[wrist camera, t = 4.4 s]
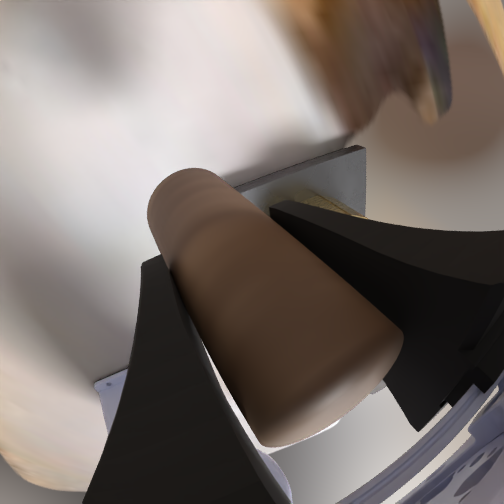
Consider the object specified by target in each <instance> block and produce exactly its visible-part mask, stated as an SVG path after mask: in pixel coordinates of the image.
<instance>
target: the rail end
mask: <svg viewBox="0 0 504 504" xmlns="http://www.w3.org/2000/svg"><path fill="white" fill-rule="evenodd" d="M147 219H148V224H149V227H150V230H151V232H152V235H153V237H154V239H155V242H156V244H157V246H158V249H159V251H160V253H161V254H162V256H163V258H164V260H165V263H166V265H167V267H168V269H169V271H170V274H171V276H172V278H173V280H174V282H175V284H176V287H177V289H178V291H179V293H180V296H181V298H182V301H183V303H184V305H185V308H186V310H187V312H188V314H189V316H190V318H191V320H192V322H193V324H194V326H195V328H196V330H197V332H198V334H199V336H200V338H201V340H202V342H203V344H204V346H205V348H206V349H207V351H208V353H209V355H210V357H211V359H212V361H213V363H214V365H215V366H216V368H217V370H218V372H219V374H220V376H221V378H222V379H223V381H224V383H225V385H226V387H227V388H228V390H229V392H230V394H231V395H232V397H233V399H234V401H235V402H236V404H237V406H238V408H239V409H240V411H241V413H242V414H243V416H244V418H245V419H246V421H247V423H248V424H249V426H250V428H251V429H252V431H253V433H254V434H255V436H256V438H257V439H258V441H259V442H260V444H261V445H263V446H265V447H282V446H286V445H290V444H293V443H296V442H298V441H301V440H303V439H306V438H308V437H310V436H312V435H314V434H316V433H318V432H320V431H321V430H323V429H325V428H326V427H328V426H330V425H331V424H333V423H334V422H336V421H337V420H339V419H340V418H341V417H343V416H344V415H345V414H347V413H348V412H349V411H351V410H352V409H353V408H354V407H355V406H357V405H358V404H359V403H360V402H361V401H362V400H363V399H364V398H365V397H366V396H367V395H368V394H370V392H371V391H372V390H373V389H374V388H375V387H376V386H377V385H378V384H379V383H380V382H381V380H382V379H383V378H384V377H385V375H386V374H387V373H388V371H389V370H390V369H391V367H392V366H393V364H394V362H395V361H396V359H397V357H398V355H399V353H400V351H401V348H402V345H403V340H404V335H403V332H402V331H401V330H400V329H399V328H398V327H397V326H396V325H395V324H394V323H393V322H392V321H390V320H389V319H388V318H387V317H386V316H385V315H384V314H383V313H381V312H380V311H379V310H378V309H377V308H376V307H375V306H374V305H372V304H371V303H370V302H369V301H368V300H367V299H366V298H365V297H363V296H362V295H361V294H360V293H359V292H358V291H357V290H355V289H354V288H353V287H352V286H351V285H350V284H349V283H347V282H346V281H345V280H344V279H343V278H342V277H340V276H339V275H338V274H337V273H336V272H335V271H333V270H332V269H331V268H330V267H329V266H328V265H326V264H325V263H324V262H323V261H322V260H321V259H319V258H318V257H317V256H316V255H315V254H313V253H312V252H311V251H310V250H309V249H307V248H306V247H305V246H304V245H303V244H301V243H300V242H299V241H298V240H297V239H295V238H294V237H293V236H292V235H291V234H289V233H288V232H287V231H286V230H285V229H283V228H282V227H281V226H280V225H279V224H277V223H276V222H275V221H274V220H272V219H271V218H270V217H269V216H267V215H266V214H265V213H264V212H263V211H261V210H260V209H259V208H258V207H256V206H255V205H254V204H253V203H251V202H250V201H249V200H248V199H246V198H245V197H244V196H243V195H241V194H240V193H239V192H238V191H236V190H235V189H234V188H233V187H231V186H230V185H229V184H228V183H226V182H225V181H224V180H222V179H221V178H220V177H219V176H217V175H216V174H214V173H213V172H211V171H208V170H205V169H201V168H188V169H183V170H180V171H177V172H175V173H173V174H171V175H170V176H168V177H167V178H165V179H164V180H163V181H162V182H161V183H160V184H159V185H158V186H157V188H156V189H155V190H154V192H153V194H152V196H151V198H150V200H149V204H148V209H147Z"/></svg>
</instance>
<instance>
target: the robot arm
mask: <svg viewBox="0 0 504 504" xmlns="http://www.w3.org/2000/svg"><path fill="white" fill-rule="evenodd" d="M269 212H270V218H271V219H272V220H274V221H275V222H276V223H277V224H279V225H280V226H281V227H282V228H283V229H285V230H286V231H287V232H288V233H289V234H291V235H292V236H293V237H294V238H295V239H297V240H298V241H299V242H300V243H301V244H303V245H304V246H305V247H306V248H307V249H309V250H310V251H311V252H312V253H313V254H315V255H316V256H317V257H318V258H319V259H321V260H322V261H323V262H324V263H325V264H326V265H328V266H329V267H330V268H331V269H332V270H333V271H335V272H336V273H337V274H338V275H339V276H340V277H342V278H343V279H344V280H345V281H346V282H347V283H349V284H350V285H351V286H352V287H353V288H354V289H355V290H357V291H358V292H359V293H360V294H361V295H362V296H363V297H365V298H366V299H367V300H368V301H369V302H370V303H371V304H372V305H374V306H375V307H376V308H377V309H378V310H379V311H380V312H381V313H383V314H384V315H385V316H386V317H387V318H388V319H389V320H390V321H392V322H393V323H394V324H395V325H396V326H397V327H398V328H399V329H400V330H401V331H402V332H403V335H404V340H403V345H402V348H401V351H400V353H399V355H398V357H397V359H396V361H395V362H394V364H393V366H392V367H391V369H390V370H389V371H388V373H387V374H386V375H385V377H384V378H383V379H382V380H383V381H384V383H385V384H386V385H387V387H388V388H389V390H390V391H391V393H392V394H393V396H394V398H395V399H396V401H397V403H398V404H399V406H400V407H401V409H402V411H403V412H404V414H405V416H406V418H407V419H408V421H409V423H410V424H411V425H412V426H413V428H414V429H415V430H416V431H417V432H419V431H420V430H421V429H422V428H424V427H425V426H426V425H427V424H428V423H429V422H430V421H431V420H432V419H433V418H434V417H435V416H436V415H437V414H438V413H439V412H440V411H441V410H442V409H443V408H444V407H445V406H446V405H447V404H448V403H449V404H450V405H451V406H452V408H451V410H450V411H449V412H448V413H447V414H446V415H445V416H444V417H443V418H442V419H441V420H440V421H439V422H438V423H437V424H436V425H435V426H434V427H433V428H432V429H431V430H430V431H429V432H428V433H427V434H426V435H425V436H424V437H422V439H420V440H419V441H418V442H417V443H416V444H415V445H414V446H412V447H411V448H410V449H409V450H408V451H407V452H406V453H404V454H403V455H402V456H401V457H400V458H398V459H397V460H396V461H395V462H394V463H392V464H391V465H390V466H389V467H387V468H386V469H385V470H383V471H382V472H381V473H379V474H378V475H377V476H376V477H374V478H373V479H371V480H370V481H369V482H367V483H366V484H364V485H363V486H362V487H360V488H359V489H357V490H356V491H354V492H353V493H351V494H350V495H348V496H347V497H345V498H344V499H342V500H341V501H339V502H337V503H336V504H380V503H382V502H383V501H384V500H385V499H387V498H388V497H389V496H391V495H392V494H393V493H395V492H396V491H397V490H398V489H400V488H401V487H402V486H403V485H405V484H406V483H407V482H408V481H409V480H410V479H412V478H413V477H414V476H415V475H416V474H417V473H419V472H420V471H421V470H422V469H423V468H424V467H425V466H426V465H427V464H428V463H429V462H430V461H432V460H433V459H434V458H435V457H436V456H437V455H438V454H439V453H440V452H441V451H442V450H443V449H444V448H445V447H446V446H447V445H448V444H449V443H450V442H451V441H452V440H453V438H454V437H455V436H456V435H457V434H458V433H459V432H460V431H461V430H462V429H463V427H464V426H465V425H466V424H467V423H468V422H469V421H470V419H471V418H472V417H473V416H474V414H476V412H477V411H478V410H479V409H480V407H481V406H482V405H483V404H484V402H485V401H486V400H487V398H488V397H489V396H490V394H491V393H492V392H493V390H494V389H495V388H496V386H497V385H498V387H499V391H498V392H497V394H496V395H495V396H494V397H493V398H492V399H491V400H490V401H489V402H488V403H487V404H486V405H485V406H484V408H483V409H482V410H481V411H480V412H479V413H478V414H477V416H476V417H475V419H474V420H473V422H472V423H471V424H470V426H469V428H468V432H469V433H470V434H471V436H470V438H469V439H468V440H467V441H466V442H465V443H464V444H463V445H462V446H461V447H460V448H459V449H458V450H457V451H456V452H455V453H454V454H453V455H452V456H451V457H450V458H449V459H448V460H447V461H446V462H444V463H443V464H442V465H441V466H440V467H439V468H438V469H437V470H436V471H435V472H433V473H432V474H431V475H430V476H429V477H428V478H426V479H425V480H424V481H423V482H422V483H420V484H419V485H418V486H417V487H416V488H414V489H413V490H412V491H411V492H410V493H408V494H407V495H406V496H405V497H403V498H402V499H401V500H399V501H398V502H397V503H395V504H504V230H502V231H484V232H473V231H472V232H470V231H468V232H466V231H443V230H433V229H422V228H413V227H407V226H401V225H394V224H388V223H383V222H378V221H373V220H369V219H365V218H360V217H356V216H352V215H347V214H343V213H339V212H336V211H332V210H328V209H324V208H320V207H316V206H312V205H308V204H304V203H300V202H295V201H289V200H284V201H281V202H279V203H277V204H274V205H272V206H269ZM94 389H95V390H96V391H97V392H99V396H100V401H101V405H102V410H103V414H104V419H105V423H106V427H107V431H108V438H107V441H106V444H105V447H104V450H103V453H102V455H101V458H100V461H99V463H98V465H97V468H96V470H95V473H94V475H93V478H92V480H91V482H90V485H89V487H88V490H87V492H86V495H85V497H84V499H83V502H82V503H83V504H293V501H292V494H291V489H290V486H289V483H288V481H287V479H286V477H285V475H284V473H283V471H282V470H281V468H280V467H279V466H278V464H277V463H276V462H275V461H274V460H273V459H272V458H271V457H270V456H269V455H267V454H266V453H263V452H262V451H260V450H258V449H256V448H255V447H254V445H253V443H252V442H251V440H250V439H249V437H248V435H247V434H246V432H245V430H244V429H243V427H242V425H241V424H240V422H239V420H238V419H237V417H236V415H235V413H234V412H233V410H232V408H231V406H230V405H229V403H228V401H227V399H226V397H225V395H224V393H223V391H222V389H221V387H220V384H219V382H218V380H217V377H216V375H215V373H214V370H213V368H212V365H211V363H210V360H209V358H208V356H207V353H206V351H205V348H204V346H203V343H202V340H201V338H200V336H199V334H198V332H197V330H196V328H195V326H194V324H193V322H192V320H191V318H190V316H189V314H188V312H187V310H186V308H185V305H184V303H183V301H182V298H181V296H180V293H179V291H178V289H177V287H176V284H175V282H174V280H173V278H172V276H171V274H170V271H169V269H168V267H167V265H166V263H165V260H164V258H163V256H162V254H160V255H158V256H156V257H154V258H152V259H149V260H147V261H145V262H143V263H142V266H141V286H140V298H139V307H138V316H137V323H136V329H135V335H134V341H133V347H132V352H131V357H130V362H129V366H128V369H126V370H123V371H121V372H119V373H116V374H114V375H112V376H109V377H107V378H105V379H102V380H100V381H98V382H96V383H94Z"/></svg>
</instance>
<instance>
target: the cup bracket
mask: <svg viewBox="0 0 504 504" xmlns="http://www.w3.org/2000/svg"><path fill="white" fill-rule="evenodd" d="M234 189H235V190H236V191H238V192H239V193H240V194H241V195H243V196H244V197H245V198H246V199H248V200H249V201H250V202H251V203H253V204H254V205H255V206H256V207H258V208H259V209H260V210H261V211H263V212H264V213H265V214H266V215H267V216H269V217H270V212H269V206H272V205H274V204H277V203H279V202H281V201H284V200H289V201H295V202H300V203H304V204H308V205H312V206H316V207H320V208H324V209H328V210H332V211H336V212H339V213H343V214H347V215H352V216H356V217H360V218H365V219H368V218H367V217H365V204H366V203H365V202H366V148H365V147H362V146H359V145H354V146H351V147H348V148H345V149H342V150H339V151H335V152H332V153H329V154H326V155H323V156H320V157H318V158H315V159H312V160H309V161H306V162H303V163H300V164H297V165H294V166H292V167H289V168H286V169H283V170H281V171H278V172H275V173H272V174H270V175H267V176H264V177H262V178H259V179H256V180H254V181H251V182H248V183H246V184H243V185H241V186H238V187H236V188H234Z"/></svg>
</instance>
